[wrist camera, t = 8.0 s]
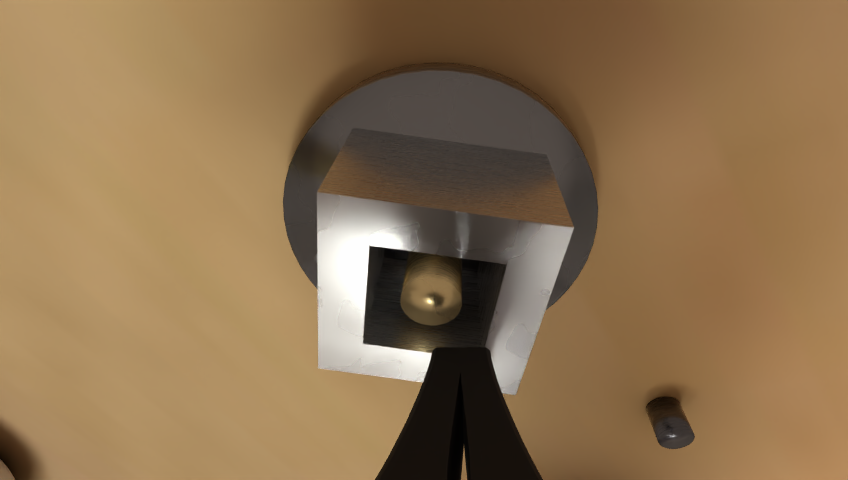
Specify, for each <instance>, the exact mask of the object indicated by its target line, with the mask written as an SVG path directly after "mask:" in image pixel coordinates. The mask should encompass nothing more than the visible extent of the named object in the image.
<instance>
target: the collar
mask: <svg viewBox="0 0 848 480" xmlns="http://www.w3.org/2000/svg"><path fill="white" fill-rule="evenodd" d="M573 229H574V226H573V223H572V221H571V218H570V215H569V213H568V210H567V207H566V205H565V202H564V199H563V197H562V194H561V192H560V189H559V186H558V184H557V181H556V178H555V176H554V173H553V170H552V168H551V165H550V162H549V160H548V157H547V155H545V154H538V153H531V152H524V151H517V150H510V149H502V148H495V147H488V146H481V145H474V144H467V143H459V142H452V141H445V140H438V139H431V138H423V137H416V136H409V135H402V134H395V133H388V132H380V131H373V130H366V129H359V128H353V129H352V131H351V132H350V134H349V136H348V138H347V140H346V141H345V143H344V145H343V147H342V148H341V150H340V152H339V154H338V156H337V157H336V159H335V161H334V163H333V164H332V166H331V168H330V170H329V172H328V173H327V175H326V177H325V179H324V180H323V182H322V184H321V186H320V188H319V189H318V191H317V260H318V368H321V369H328V370H335V371H343V372H350V373H357V374H365V375H372V376H380V377H387V378H394V379H402V380H409V381H416V382H423V381H424V378H425V375H426V372H427V369H428V366H429V363H430V359H431V355H432V351H433V350H434V349H435V348H436V347H486V348H488V349H489V350H490V352H491V358H492V362H493V367H494V370H495V374H496V377H497V380H498V383H499V386H500V389H501V392H502V393H505V394H512V395H516V393H517V390H518V387H519V384H520V381H521V378H522V376H523V373H524V370H525V367H526V364H527V361H528V358H529V356H530V353H531V350H532V347H533V344H534V341H535V338H536V335H537V333H538V330H539V327H540V324H541V321H542V318H543V315H544V313H545V310H546V307H547V304H548V301H549V298H550V295H551V292H552V290H553V287H554V284H555V281H556V278H557V275H558V272H559V270H560V267H561V264H562V261H563V258H564V255H565V252H566V249H567V247H568V244H569V241H570V238H571V235H572V232H573ZM385 248H392V249H399V250H406V251H414V252H421V253H428V254H435V255H443V256H450V257H457V258H464V259H472V260H479V261H480V262H479V266H478V270H472V269H465V268H462V306H461V309H460V312H459V313H458V315H457V316H456V317H455V318H454V319H453V320H451V321H449V322H447V323H445V324H441V325H424V324H420V323H418V322H415V321H414V320H412V319H410V318H409V317H408V316H407V315H406V314H405V313H404V311H403V309H402V307H401V302H400V299H401V293H402V287H403V281H404V275H405V269H406V263H407V261H406V260H399V259H392V258H385V257H384V249H385Z"/></svg>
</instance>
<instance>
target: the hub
mask: <svg viewBox="0 0 848 480" xmlns="http://www.w3.org/2000/svg"><path fill="white" fill-rule="evenodd" d="M353 128H359V129H366V130H373V131H380V132H388V133H395V134H402V135H409V136H416V137H423V138H431V139H438V140H445V141H452V142H459V143H467V144H474V145H481V146H488V147H495V148H502V149H510V150H517V151H524V152H531V153H538V154H545V155H547V157H548V160H549V162H550V165H551V168H552V170H553V173H554V176H555V178H556V181H557V184H558V186H559V189H560V192H561V194H562V197H563V199H564V202H565V205H566V207H567V210H568V213H569V215H570V218H571V221H572V223H573V226H574V229H573V232H572V235H571V238H570V241H569V244H568V247H567V249H566V252H565V255H564V258H563V261H562V264H561V267H560V270H559V272H558V275H557V278H556V281H555V284H554V287H553V290H552V292H551V295H550V298H549V301H548V304H547V307H546V309H548V308H549V307H550V306H551V305H553V304H554V303H555V302H556V301H557V300H558V299H559V298H560V297H561V296H562V295H563V294H564V293H565V292H566V291H567V290H568V289H569V287H570V286H571V285H572V283H573V282H574V281H575V280H576V278H577V277H578V275H579V274H580V272H581V270H582V268H583V266H584V265H585V263H586V261H587V259H588V256H589V253H590V251H591V248H592V246H593V242H594V237H595V233H596V229H597V217H598V204H597V192H596V187H595V183H594V179H593V175H592V172H591V169H590V167H589V165H588V162H587V160H586V158H585V155H584V153H583V151H582V150H581V148H580V146H579V144H578V142H577V140H576V139H575V137H574V136H573V134H572V132H571V131H570V129H569V128H568V126H567V125H566V123H565V122H564V121H563V120H562V119H561V117H560V116H559V115H558V114H557V113H556V112H555V110H554V109H553V108H552V107H551V106H549V105H548V104H547V103H546V102H545V101H544V100H542V99H541V98H540V97H539V96H538V95H537V94H535V93H534V92H532V91H530V90H529V89H527V88H526V87H524V86H523V85H521V84H519V83H518V82H516V81H514V80H511V79H509V78H507V77H505V76H502V75H500V74H498V73H495V72H492V71H488V70H485V69H481V68H478V67H474V66H467V65H461V64H454V63H425V64H417V65H409V66H404V67H400V68H396V69H393V70H389V71H386V72H383V73H380V74H378V75H376V76H373V77H371V78H369V79H366V80H364V81H362V82H361V83H359V84H358V85H356V86H354V87H353V88H351V89H349V90H348V91H346V92H345V93H344V94H342V95H341V96H340V97H339V98H338V99H337V100H335V101H334V102H333V103H332V104H331V105H330V106H329V107H328V108H327V109H326V110H325V111H324V112H323V113H322V115H321V116H320V117H319V118H318V119H317V120H316V122H315V123H314V124H313V125H312V127H311V128H310V129H309V131H308V132H307V134H306V135H305V137H304V138H303V140H302V141H301V143H300V144H299V146H298V148H297V150H296V152H295V154H294V157H293V159H292V161H291V163H290V166H289V170H288V174H287V177H286V181H285V188H284V197H283V208H284V221H285V226H286V231H287V236H288V239H289V242H290V244H291V247H292V250H293V253H294V254H295V256H296V258H297V260H298V262H299V264H300V266H301V268H302V269H303V271H304V272H305V274H306V275H307V277H308V278H309V280H310V281H311V282H312V283H313V284H314V286H315V287H316V288H317V289H318V260H317V191H318V189H319V188H320V186H321V184H322V182H323V180H324V179H325V177H326V175H327V173H328V172H329V170H330V168H331V166H332V164H333V163H334V161H335V159H336V157H337V156H338V154H339V152H340V150H341V148H342V147H343V145H344V143H345V141H346V140H347V138H348V136H349V134H350V132H351V131H352V129H353ZM384 257H385V258H392V259H399V260H406V261H407V263H406V269H405V275H404V281H403V287H402V293H401V299H400V302H401V307H402V309H403V311H404V313H405V314H406V315H407V316H408V317H409V318H410V319H412V320H414V321H415V322H418V323H420V324H424V325H441V324H445V323H447V322H449V321H451V320H453V319H454V318H455V317H456V316H457V315H458V313H459V312H460V309H461V306H462V268H465V269H472V270H478V266H479V262H480V261H479V260H472V259H464V258H457V257H450V256H443V255H435V254H428V253H421V252H414V251H406V250H399V249H392V248H385V249H384Z"/></svg>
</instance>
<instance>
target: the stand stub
mask: <svg viewBox="0 0 848 480" xmlns="http://www.w3.org/2000/svg"><path fill="white" fill-rule="evenodd" d="M646 411H647V414H648V416H649V419H650V422H651V424H652V427H653V430H654V432H655V435H656V437H657V440H658V442H659V444H660V445H661V446H662V447H665V448H669V449H678V448H682V447H685V446H687V445H689V444H690V443H692V442H693V440H694V438H695V436H694V433H693V431H692V429H691V427H690V424H689V422H688V420H687V418H686V416H685V413H684V411H683V409H682V407H681V405H680V403H679V401H678V400H676V399H674V398H670V397H662V398H658V399H655V400H653V401H651V402H650V403H649V404H648V405H647V407H646Z"/></svg>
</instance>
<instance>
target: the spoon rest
mask: <svg viewBox="0 0 848 480" xmlns="http://www.w3.org/2000/svg"><path fill="white" fill-rule="evenodd" d="M0 480H15V479H14V477H13V475H12V473H11V472H10V470H9V469H8V467H7V466H6V465H5V464H4V463H3V462H2V461H1V460H0Z"/></svg>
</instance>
